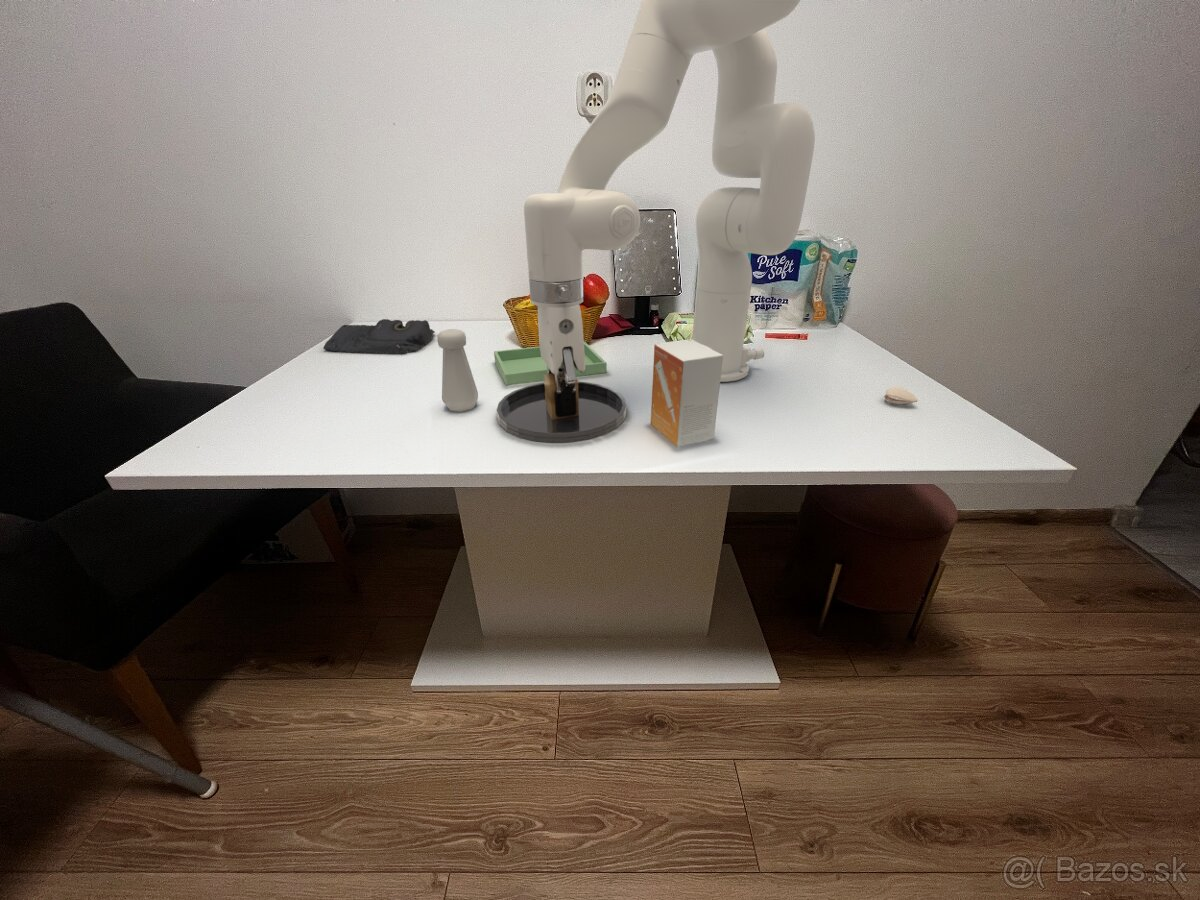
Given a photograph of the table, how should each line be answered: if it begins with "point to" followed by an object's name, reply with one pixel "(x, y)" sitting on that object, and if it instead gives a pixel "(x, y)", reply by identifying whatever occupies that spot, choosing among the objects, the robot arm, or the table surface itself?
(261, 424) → the table surface
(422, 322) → the dark crumpled cloth
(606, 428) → the pan
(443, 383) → the salt shaker
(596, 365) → the tray
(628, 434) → the table surface
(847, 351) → the table surface
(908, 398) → the beige pistachio shell
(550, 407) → the block
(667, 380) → the small box
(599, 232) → the robot arm
